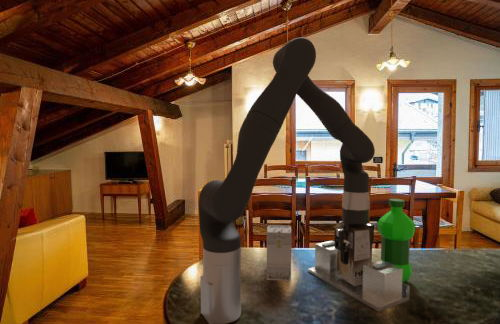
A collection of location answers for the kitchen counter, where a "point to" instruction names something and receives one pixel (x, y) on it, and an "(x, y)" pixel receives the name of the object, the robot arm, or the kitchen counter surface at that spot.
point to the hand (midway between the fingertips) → (353, 261)
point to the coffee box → (355, 254)
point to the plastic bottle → (396, 237)
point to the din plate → (374, 279)
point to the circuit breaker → (279, 253)
